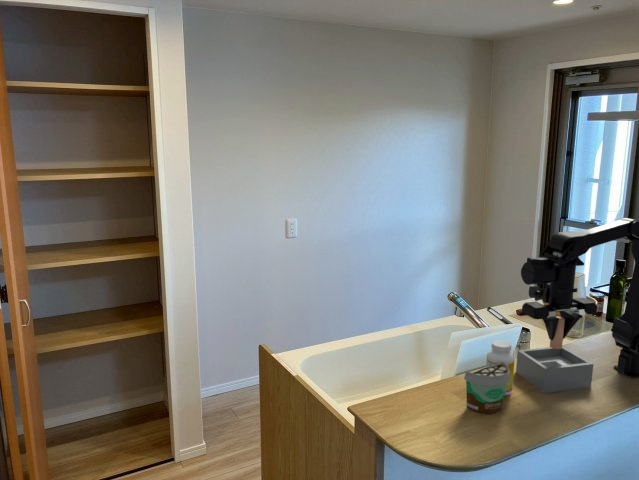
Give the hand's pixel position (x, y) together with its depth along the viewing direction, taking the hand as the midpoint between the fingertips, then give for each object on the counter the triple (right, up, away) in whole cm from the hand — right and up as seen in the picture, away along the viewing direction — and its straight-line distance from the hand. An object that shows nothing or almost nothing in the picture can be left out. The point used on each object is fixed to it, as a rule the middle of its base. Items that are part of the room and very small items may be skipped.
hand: (556, 339), depth 136 cm
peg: (0, -2, 0) cm, 2 cm away
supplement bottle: (-17, -13, -3) cm, 21 cm away
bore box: (0, -11, +2) cm, 12 cm away
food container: (-22, -15, -13) cm, 29 cm away
